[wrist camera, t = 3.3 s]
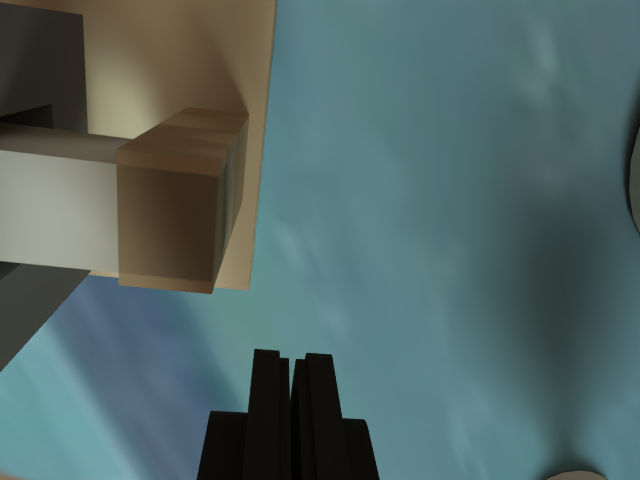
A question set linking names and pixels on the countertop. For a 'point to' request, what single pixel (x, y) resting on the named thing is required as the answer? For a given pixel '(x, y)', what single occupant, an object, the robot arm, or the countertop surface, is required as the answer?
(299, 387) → the robot arm
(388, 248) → the countertop surface
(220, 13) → the pipe rig
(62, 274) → the collar
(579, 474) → the chalice
